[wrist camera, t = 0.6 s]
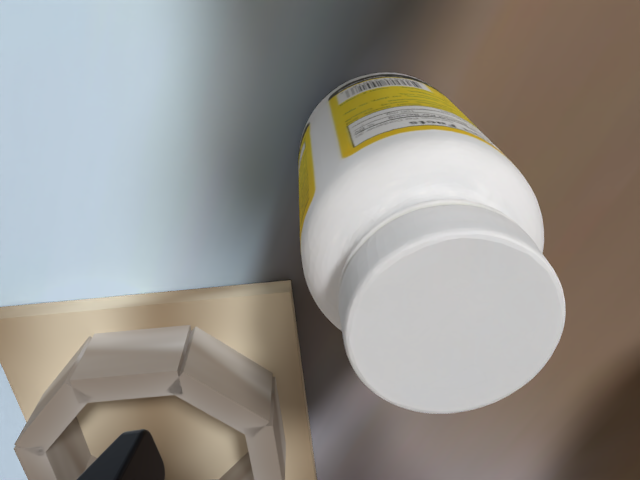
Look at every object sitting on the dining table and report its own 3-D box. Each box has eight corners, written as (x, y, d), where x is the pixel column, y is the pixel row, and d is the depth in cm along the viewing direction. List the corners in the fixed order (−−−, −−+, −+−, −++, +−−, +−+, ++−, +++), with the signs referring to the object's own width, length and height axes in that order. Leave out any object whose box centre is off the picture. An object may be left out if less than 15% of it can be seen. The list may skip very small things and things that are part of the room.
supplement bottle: (381, 255, 21) (442, 482, 12) (264, 160, 19) (234, 346, 10) (497, 145, 19) (667, 319, 10) (380, 29, 17) (465, 118, 8)
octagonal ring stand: (290, 280, 21) (289, 335, 18) (317, 486, 26) (320, 556, 23) (-8, 307, 21) (-58, 366, 18) (77, 508, 26) (49, 579, 23)
